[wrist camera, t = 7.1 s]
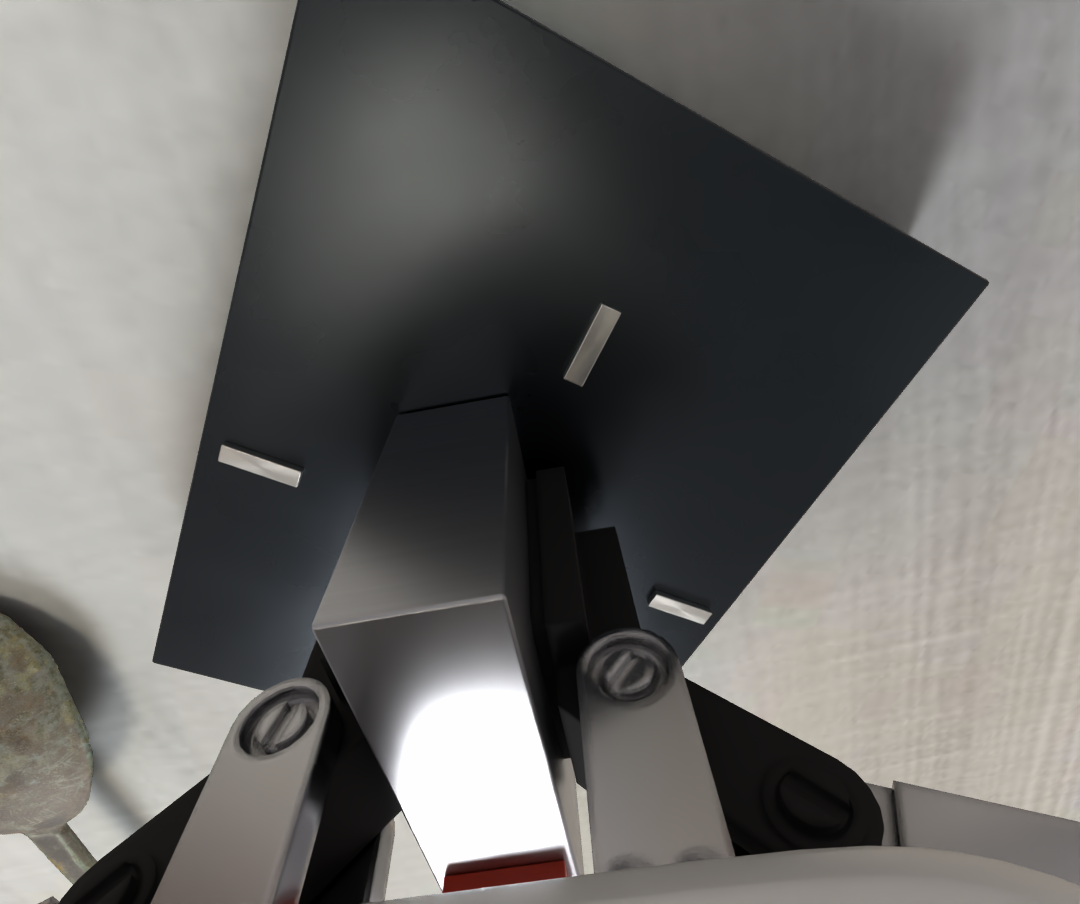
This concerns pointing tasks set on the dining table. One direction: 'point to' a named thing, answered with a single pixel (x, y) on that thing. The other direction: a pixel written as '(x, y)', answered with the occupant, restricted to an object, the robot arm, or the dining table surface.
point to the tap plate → (530, 320)
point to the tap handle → (453, 651)
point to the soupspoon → (41, 752)
